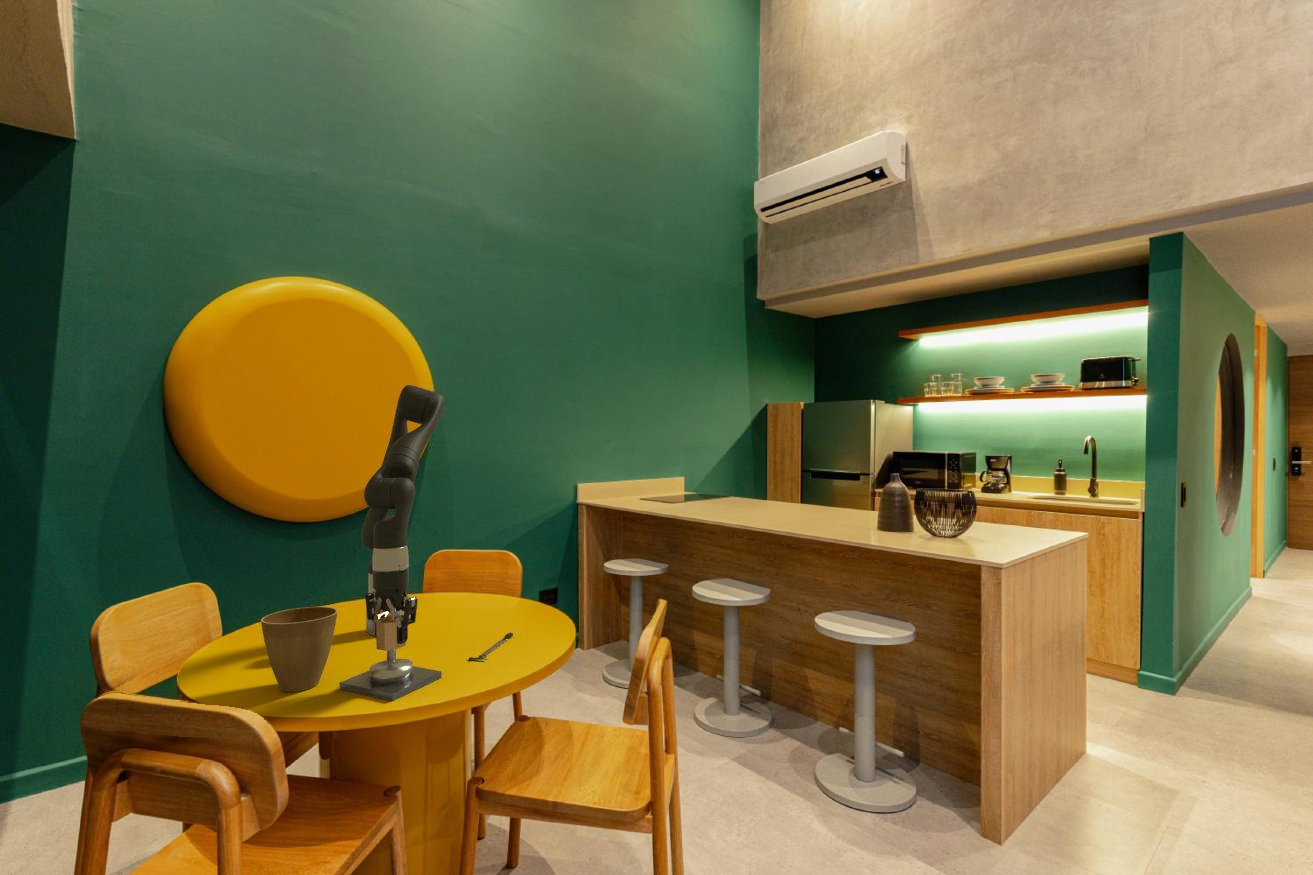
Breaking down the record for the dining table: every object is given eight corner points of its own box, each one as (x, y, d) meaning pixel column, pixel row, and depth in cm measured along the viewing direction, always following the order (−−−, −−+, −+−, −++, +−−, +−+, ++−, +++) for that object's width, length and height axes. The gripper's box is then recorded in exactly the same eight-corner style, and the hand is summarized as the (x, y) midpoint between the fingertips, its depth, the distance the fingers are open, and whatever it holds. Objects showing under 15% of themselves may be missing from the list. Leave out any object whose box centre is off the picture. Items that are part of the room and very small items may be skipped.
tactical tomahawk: (491, 667, 152) (491, 662, 152) (467, 662, 154) (467, 658, 154) (528, 639, 172) (529, 635, 172) (507, 635, 174) (507, 631, 174)
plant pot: (341, 688, 137) (341, 616, 137) (261, 705, 129) (261, 627, 129) (334, 668, 149) (333, 602, 149) (260, 682, 141) (260, 611, 141)
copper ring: (370, 647, 138) (370, 621, 138) (392, 639, 144) (392, 614, 144) (390, 651, 136) (390, 624, 136) (411, 643, 141) (411, 616, 141)
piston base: (339, 689, 137) (339, 625, 137) (390, 667, 149) (390, 609, 149) (392, 701, 130) (392, 634, 130) (441, 677, 143) (441, 616, 143)
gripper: (354, 567, 139) (354, 642, 139) (401, 572, 133) (401, 650, 133) (381, 561, 146) (381, 632, 146) (427, 565, 140) (427, 640, 140)
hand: (391, 640), depth 140 cm, fingers closed on copper ring, 6 cm apart
